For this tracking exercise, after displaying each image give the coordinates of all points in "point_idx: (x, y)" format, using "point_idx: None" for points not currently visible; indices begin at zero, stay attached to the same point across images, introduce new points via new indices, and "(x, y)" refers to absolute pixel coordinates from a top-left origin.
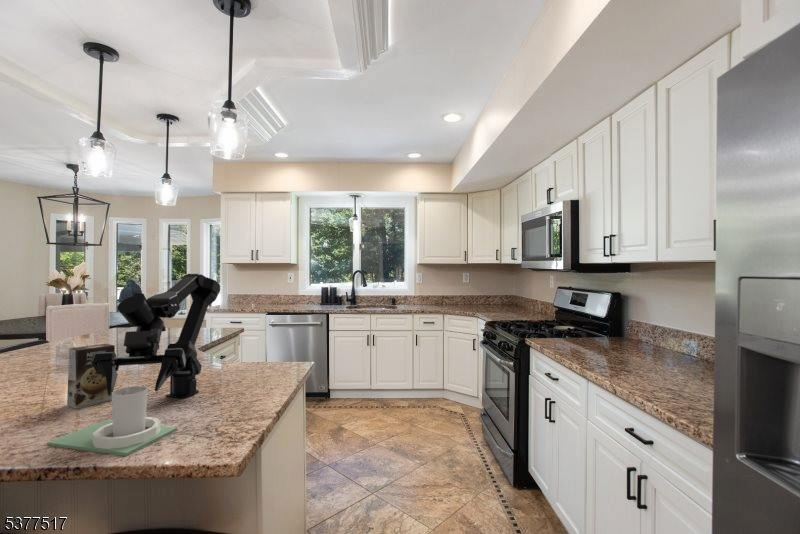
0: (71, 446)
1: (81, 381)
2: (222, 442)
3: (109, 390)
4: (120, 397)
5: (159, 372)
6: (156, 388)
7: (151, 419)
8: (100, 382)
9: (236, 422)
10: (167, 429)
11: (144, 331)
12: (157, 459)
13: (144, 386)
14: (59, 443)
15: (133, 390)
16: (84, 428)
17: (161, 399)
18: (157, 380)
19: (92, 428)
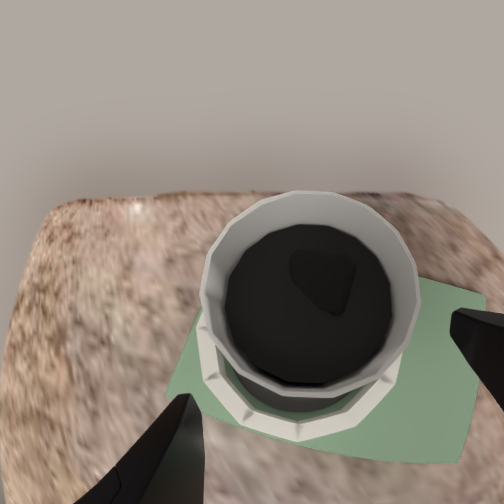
0: (418, 276)
1: None
2: (56, 287)
3: (466, 311)
4: (309, 202)
5: (138, 489)
6: (178, 394)
7: (254, 411)
8: None
9: (42, 406)
10: (190, 385)
11: None
12: (158, 218)
13: (257, 378)
14: (458, 290)
15: (346, 382)
16: (474, 392)
17: None
18: (165, 432)
19: (455, 395)
